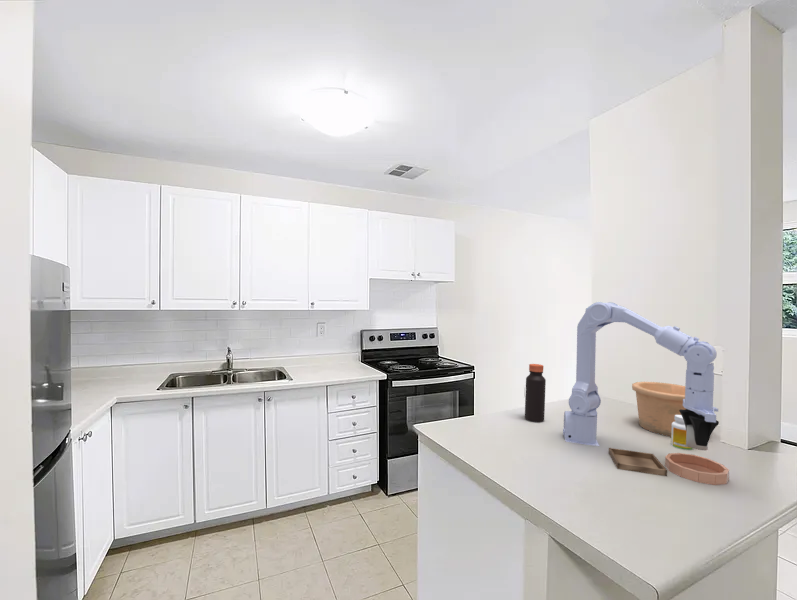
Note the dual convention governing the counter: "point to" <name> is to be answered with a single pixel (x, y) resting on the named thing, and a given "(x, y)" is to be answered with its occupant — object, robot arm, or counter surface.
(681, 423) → the supplement bottle
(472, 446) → the counter surface
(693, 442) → the stone
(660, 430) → the pottery
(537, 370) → the vinegar
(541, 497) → the counter surface
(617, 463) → the tray
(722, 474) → the bowl
